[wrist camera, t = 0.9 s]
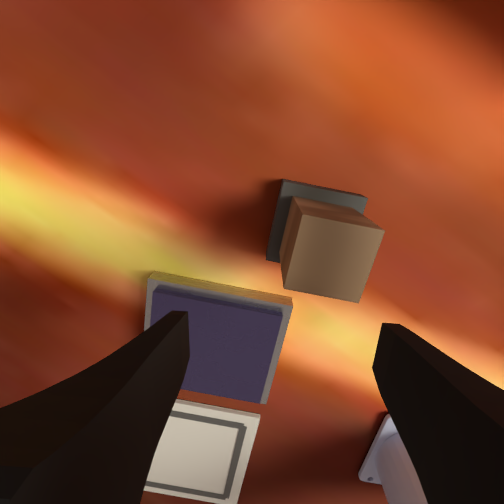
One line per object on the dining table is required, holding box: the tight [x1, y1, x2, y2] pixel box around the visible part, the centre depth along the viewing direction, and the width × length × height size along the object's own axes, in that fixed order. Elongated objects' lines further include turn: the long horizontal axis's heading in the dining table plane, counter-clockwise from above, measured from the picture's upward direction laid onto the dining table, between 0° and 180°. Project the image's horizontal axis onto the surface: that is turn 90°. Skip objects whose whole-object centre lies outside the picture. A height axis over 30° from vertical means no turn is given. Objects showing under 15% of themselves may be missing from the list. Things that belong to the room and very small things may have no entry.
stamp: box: [266, 179, 385, 303], centre depth 16 cm, size 5×5×6 cm
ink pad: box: [144, 271, 293, 404], centre depth 21 cm, size 10×9×2 cm
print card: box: [144, 399, 260, 504], centre depth 27 cm, size 12×12×1 cm
